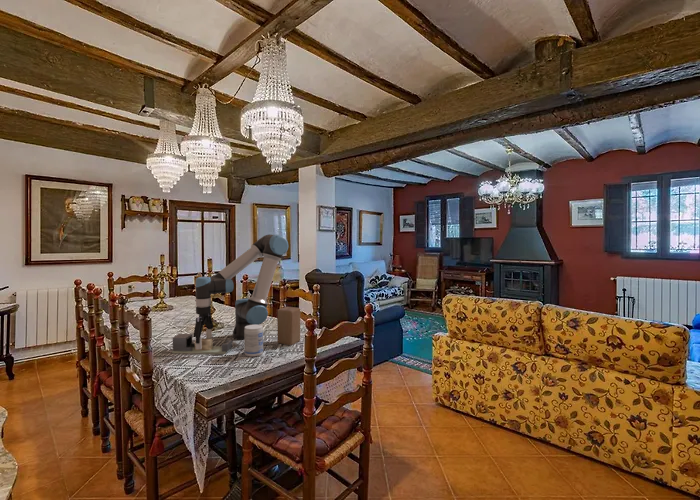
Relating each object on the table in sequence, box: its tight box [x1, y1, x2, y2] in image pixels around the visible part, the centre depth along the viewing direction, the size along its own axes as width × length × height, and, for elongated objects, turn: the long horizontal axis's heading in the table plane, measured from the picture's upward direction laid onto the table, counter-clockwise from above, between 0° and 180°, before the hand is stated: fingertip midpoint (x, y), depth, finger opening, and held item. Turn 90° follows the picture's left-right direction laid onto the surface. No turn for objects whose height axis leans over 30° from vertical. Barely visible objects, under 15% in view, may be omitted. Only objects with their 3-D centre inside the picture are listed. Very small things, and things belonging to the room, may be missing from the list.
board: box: [171, 345, 228, 355], centre depth 194 cm, size 28×9×1 cm, turn 90°
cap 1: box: [172, 333, 195, 351], centre depth 193 cm, size 10×8×7 cm
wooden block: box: [276, 306, 301, 346], centre depth 209 cm, size 10×10×20 cm
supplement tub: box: [243, 324, 264, 358], centre depth 189 cm, size 10×10×15 cm
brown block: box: [194, 338, 214, 350], centre depth 193 cm, size 8×4×5 cm, turn 90°
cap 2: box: [221, 339, 233, 353], centre depth 193 cm, size 3×8×4 cm, turn 0°
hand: (204, 344), depth 193 cm, fingers open, 13 cm apart
